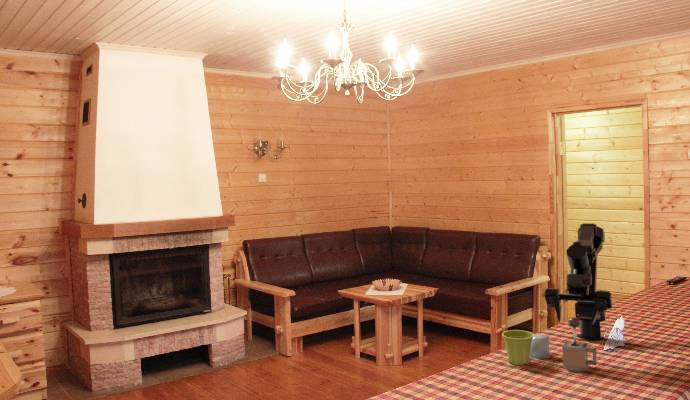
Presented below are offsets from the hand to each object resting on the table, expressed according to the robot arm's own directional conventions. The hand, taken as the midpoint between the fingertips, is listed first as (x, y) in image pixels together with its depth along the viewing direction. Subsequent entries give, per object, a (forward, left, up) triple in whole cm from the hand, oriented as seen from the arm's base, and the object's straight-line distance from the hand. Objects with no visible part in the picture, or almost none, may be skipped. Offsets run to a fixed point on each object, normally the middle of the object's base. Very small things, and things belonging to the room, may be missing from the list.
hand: (575, 322), depth 173 cm
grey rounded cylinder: (-13, -4, -13) cm, 19 cm away
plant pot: (-10, -13, -13) cm, 21 cm away
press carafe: (+2, -1, -13) cm, 13 cm away
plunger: (+1, -1, -8) cm, 8 cm away
